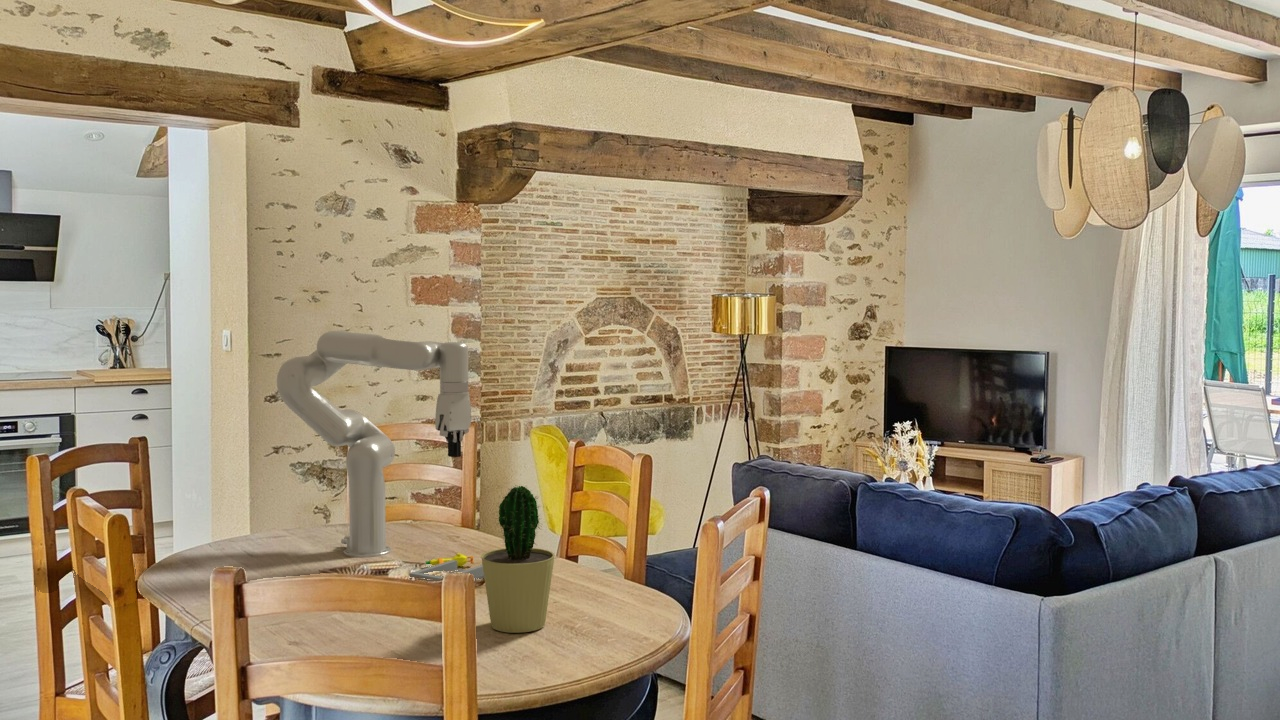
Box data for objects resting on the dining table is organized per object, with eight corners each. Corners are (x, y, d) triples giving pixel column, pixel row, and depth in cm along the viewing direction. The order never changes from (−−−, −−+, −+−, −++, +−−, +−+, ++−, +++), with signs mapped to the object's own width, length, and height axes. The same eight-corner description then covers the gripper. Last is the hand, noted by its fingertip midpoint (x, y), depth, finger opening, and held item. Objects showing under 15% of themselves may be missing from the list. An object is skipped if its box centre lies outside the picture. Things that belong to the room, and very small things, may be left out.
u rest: (407, 585, 254) (407, 573, 254) (451, 571, 268) (451, 559, 268) (446, 592, 248) (446, 579, 248) (488, 577, 262) (488, 565, 262)
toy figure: (473, 557, 269) (425, 563, 266) (474, 571, 269) (426, 577, 267) (471, 548, 275) (424, 554, 273) (472, 561, 276) (425, 567, 273)
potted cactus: (511, 610, 233) (510, 475, 232) (568, 621, 225) (569, 481, 224) (465, 628, 220) (465, 485, 219) (525, 640, 212) (525, 491, 211)
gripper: (461, 386, 291) (461, 452, 292) (424, 389, 278) (425, 458, 279) (482, 387, 287) (482, 454, 288) (446, 390, 274) (447, 460, 275)
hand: (454, 456), depth 284 cm, fingers closed
